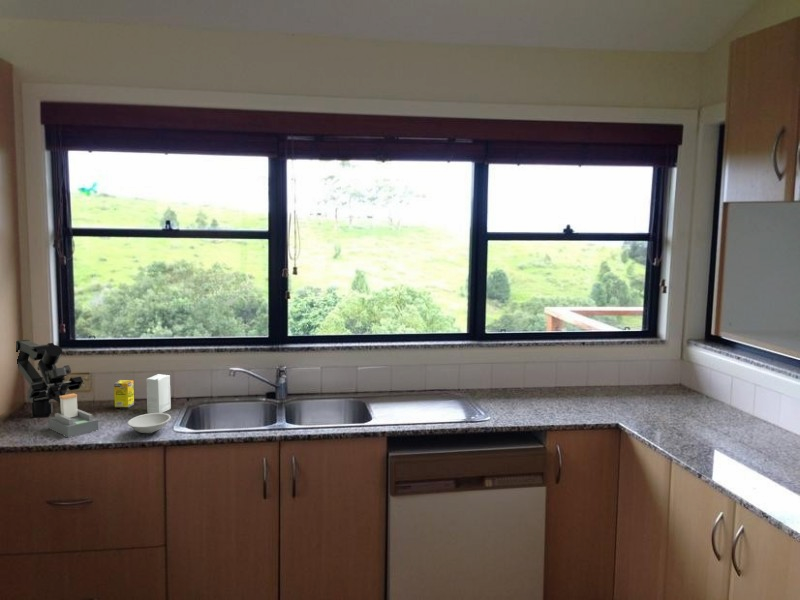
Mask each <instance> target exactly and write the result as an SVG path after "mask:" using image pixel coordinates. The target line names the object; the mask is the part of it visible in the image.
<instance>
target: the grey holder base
mask: <svg viewBox="0 0 800 600" xmlns="http://www.w3.org/2000/svg"><path fill="white" fill-rule="evenodd" d="M77 410H78V416H75V417H71V418H69V417H66V416H64V415H62V414H61V413H60V412H55V413H54V417H48V428H50V429H49V430H51V429H52V430H51V431H53V430H54V431H53V432H55V431H56V432H55V433H57V432H58V434H59V433H60V435H61V434H63V435H62V436H64V435H65V436H64V437H66V436H67V437H66V438H68V437H69V438H72V437H71V436H73V437H76V436H75V435H77V436H80V435H79V434H82V435H84V434H83V433H86V434H89V433H88V432H90V433H93V432H92V431H94V432H97V431H96V430H98V431H99V420H98V419H97V418H94V417H93V414H91V413H90V412H88V411H87V412H86V411H84V410H81V409H79V408H77Z"/></svg>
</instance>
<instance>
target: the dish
mask: <svg viewBox="0 0 800 600" xmlns="http://www.w3.org/2000/svg"><path fill="white" fill-rule="evenodd" d="M171 419H172V417H171V415H170V414H168V413H165V412H163V413H145V414H140V415H137V416H134V417H132V418H130V419H129V420H128V421H127V426H129V427H130V428H131V429H133V430H134V431H136V432H138V433H143V434H152V433H154V432H157V431H159V430H161V429H163V428H164V427H165V426H166V425H167V424H168V422H169V421H170V420H171Z"/></svg>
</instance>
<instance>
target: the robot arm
mask: <svg viewBox="0 0 800 600" xmlns="http://www.w3.org/2000/svg"><path fill="white" fill-rule="evenodd" d="M18 350H20V353H19V356H18V359H17V364H18V368H17V369H18V370H19V372H20V373H21V375H23V378H24V379H25V380H26V381H27V382H28V384H29V388H28V390H27V396H26V397H27V401H28V402H29V403H31V412H32V413H31V416H30V418H45V417H48V418H49V417H50V416H51V415H52V414H53V413H54V405H53V402H52V400H54V401H55V402H57V403H59V404H60V398H59V396H62V395H66V393H67V391H68V390H69V391H75V390H76V391H77V390H79V389H81V386H82V385H83V384H84V383H83V382H84V379H83V377H82V376H81V375H77V376H71V377H70V378H69V380H67V381H65V379H66V377H67V376H68V375H70V374H71V372H72V369H71V367H70V365H69V364H67V365H64V366H62V367H57V365H56V364H57V363H58V362H59V359H60V357H61V356H62V354H63V349H62V348H61V347H60V346H59V345H56V344H54V342H49V343H48V342H47V344H37V343H35V342H33V341H30V339H20V340H16V352H18ZM30 359H31V361H34V362H36V361H38V363H37V369H36V368H35V367H34V366H33V363H32V362H31V361H30ZM38 371H40V373H41V374H40V373H39V372H38Z"/></svg>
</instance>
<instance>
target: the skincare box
mask: <svg viewBox="0 0 800 600" xmlns="http://www.w3.org/2000/svg"><path fill="white" fill-rule="evenodd" d="M145 380H146V403H147V404H146V408H147V409H146V410H147V413H146V414H149V413H165V412H167V411H169V410H171V407H172V405H171V404H172V403H171V402H172V401H171V400H172V399H171V375H170V374H169V375H168V374H161V373H157V374H155V375H152V376H150V377H147V378H146V379H145Z"/></svg>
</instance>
